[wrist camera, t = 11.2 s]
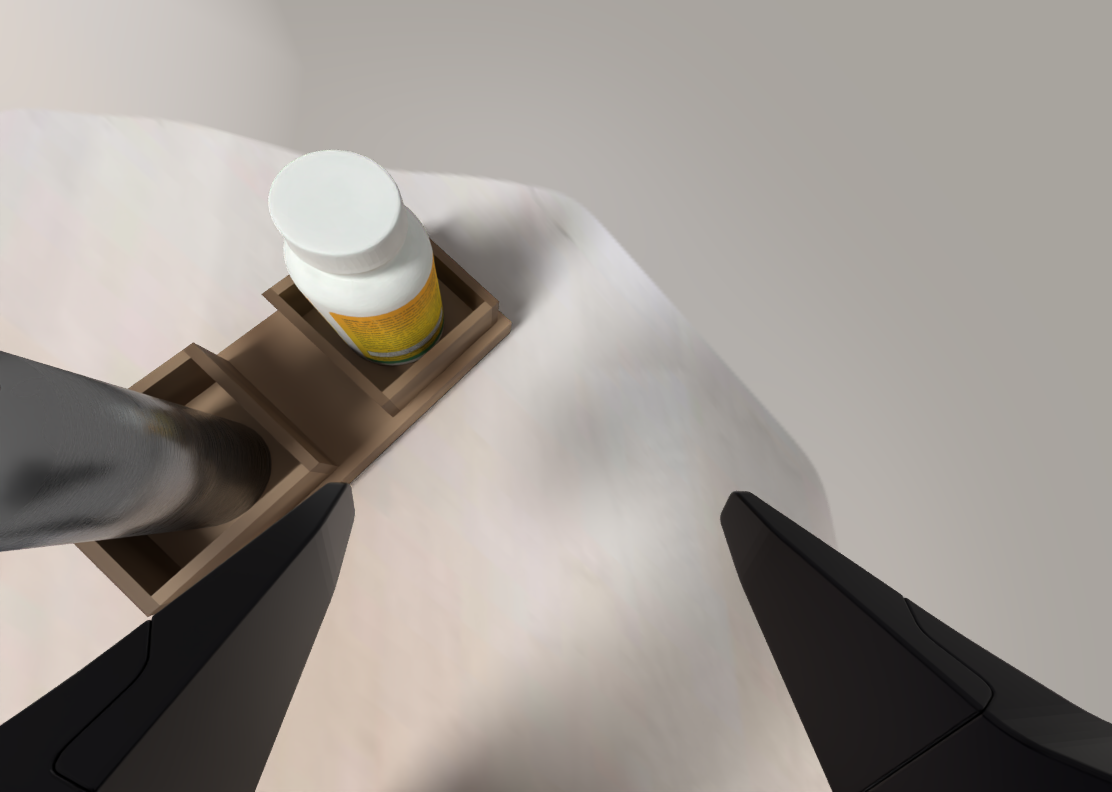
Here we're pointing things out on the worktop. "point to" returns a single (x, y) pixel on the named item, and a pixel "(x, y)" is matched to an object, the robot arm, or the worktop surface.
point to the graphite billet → (114, 461)
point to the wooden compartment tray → (297, 418)
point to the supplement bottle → (359, 254)
